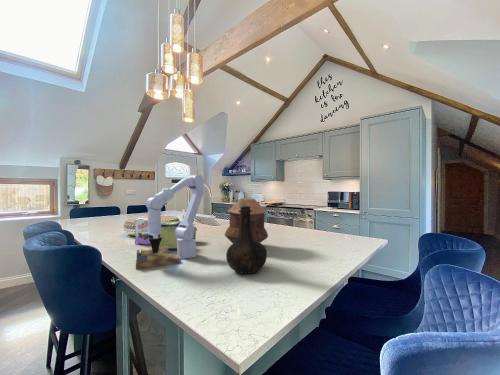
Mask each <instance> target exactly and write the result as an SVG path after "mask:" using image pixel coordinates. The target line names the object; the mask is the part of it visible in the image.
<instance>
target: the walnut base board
mask: <svg viewBox="0 0 500 375" xmlns="http://www.w3.org/2000/svg"><path fill="white" fill-rule="evenodd" d="M175 264H180V259H179V256H178V255H177V253H175V254H168V258H167V259H159V260H151V261H147V262H143V263H137V258H136V259H135V270H140V269H146V268H153V267H161V266H167V265H175Z"/></svg>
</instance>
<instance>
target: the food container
mask: <svg viewBox="0 0 500 375" xmlns="http://www.w3.org/2000/svg"><path fill="white" fill-rule="evenodd" d="M194 227H195V228H194V236H193V238H192V239H195V240H196V239H197V236H196V235H197V231H198V229H197V226H195V225H194Z"/></svg>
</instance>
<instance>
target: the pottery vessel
mask: <svg viewBox="0 0 500 375" xmlns="http://www.w3.org/2000/svg"><path fill="white" fill-rule="evenodd" d="M242 206H250V207H251V208H250V210H252V212H250V218H251V229H252V235H253V239H254V241H255V242H258V243H261V244H262V242H263V241H265V240H267V239H268V237H269V234H268V231H267V230H266V228H265V213H267V209H265V208H264V207H263V206H262V205H261V204H260V203H259V202H258V201H257V200H256V199H255V198H251V197H241V198H239V199H238V200H237V201H236V202H235V203H234V204H233V205H232V206H231V207H230V208H229V209H228V210H227V213H229V221H228V222H229V226H228V227H227V228H226V230H225V232H224V236H225V238H226V239H227V240H229V241H230V242H231V243H232V244H234V243H235V242H236V241H237V239H238V235H239V228H240V212H238V211H240V210H241V209H240V207H242Z"/></svg>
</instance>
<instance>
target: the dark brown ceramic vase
mask: <svg viewBox="0 0 500 375" xmlns="http://www.w3.org/2000/svg"><path fill="white" fill-rule="evenodd" d="M250 208H251V207H250V206H242V207H240V209H241V210H240V211H238V212H240V228H239V235H238V239H237V241H236V242H235V243H234V244H233V243H232V244H231V245H230V246H229V247H228V248H227V250H226V256H225V257H226V258H225V260H226V263H227V264H228V266H229V267H230V268H231V270H233V271H235V272H236V273H240V274H253V273H256V272H259V271H260V270H261V269H263V267H264V266H265V264H266V262H267V258H268V257H267V256H268V254H267V250H266V247H265V246H264V245H263V243H262V242H261V243H258V242H255V241H254V239H253V235H252V229H251V218H250V212H252V210H250Z"/></svg>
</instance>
